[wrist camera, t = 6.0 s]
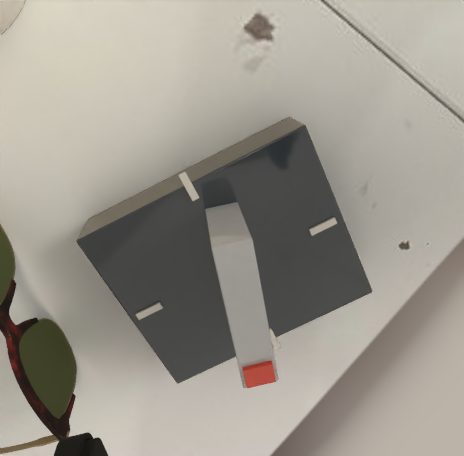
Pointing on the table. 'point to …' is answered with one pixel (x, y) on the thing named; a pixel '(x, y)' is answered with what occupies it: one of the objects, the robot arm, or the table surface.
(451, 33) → the table surface
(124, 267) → the plate
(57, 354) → the sunglasses
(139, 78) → the table surface
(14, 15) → the mug
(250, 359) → the long grey beam
